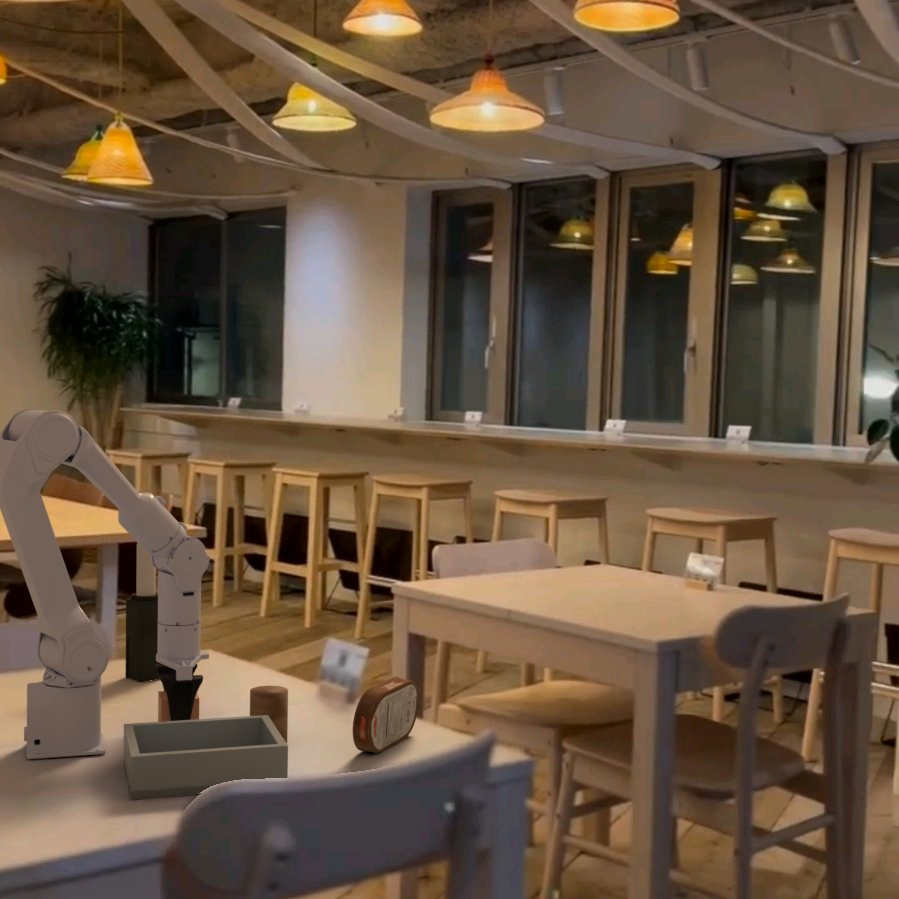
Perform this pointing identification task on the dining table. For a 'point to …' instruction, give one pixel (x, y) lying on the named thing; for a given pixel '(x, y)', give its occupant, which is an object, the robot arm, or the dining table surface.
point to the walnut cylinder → (271, 705)
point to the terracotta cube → (164, 708)
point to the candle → (142, 623)
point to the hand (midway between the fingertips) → (178, 720)
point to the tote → (200, 754)
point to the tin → (385, 715)
